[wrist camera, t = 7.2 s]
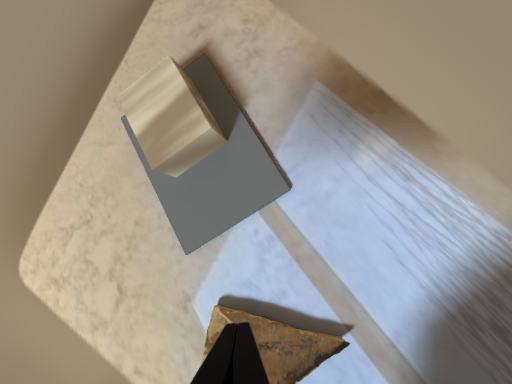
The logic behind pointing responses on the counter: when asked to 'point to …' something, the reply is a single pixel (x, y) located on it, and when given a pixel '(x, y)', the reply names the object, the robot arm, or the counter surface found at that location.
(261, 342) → the shard
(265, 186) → the rubber mat
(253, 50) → the counter surface
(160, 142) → the beige block
